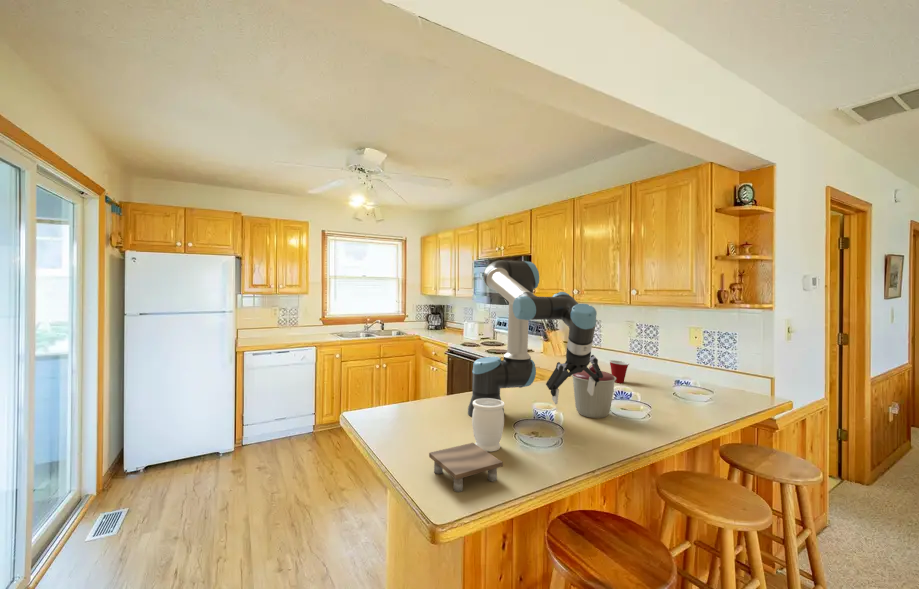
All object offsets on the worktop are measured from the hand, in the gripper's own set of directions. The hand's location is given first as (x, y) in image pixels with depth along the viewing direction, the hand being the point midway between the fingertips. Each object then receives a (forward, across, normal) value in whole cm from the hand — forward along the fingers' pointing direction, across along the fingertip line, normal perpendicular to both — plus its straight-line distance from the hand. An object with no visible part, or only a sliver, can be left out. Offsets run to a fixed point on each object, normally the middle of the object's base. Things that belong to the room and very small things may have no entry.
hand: (572, 397), depth 135 cm
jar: (+8, -33, -6) cm, 35 cm away
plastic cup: (+59, +65, +54) cm, 103 cm away
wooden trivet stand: (-2, -44, -20) cm, 49 cm away
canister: (+28, +19, +13) cm, 37 cm away
